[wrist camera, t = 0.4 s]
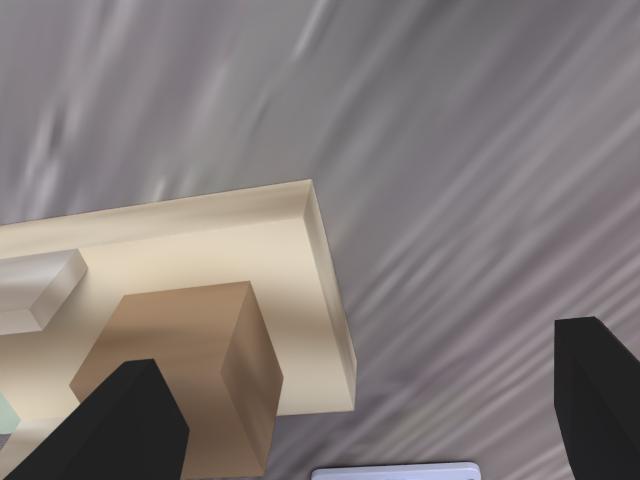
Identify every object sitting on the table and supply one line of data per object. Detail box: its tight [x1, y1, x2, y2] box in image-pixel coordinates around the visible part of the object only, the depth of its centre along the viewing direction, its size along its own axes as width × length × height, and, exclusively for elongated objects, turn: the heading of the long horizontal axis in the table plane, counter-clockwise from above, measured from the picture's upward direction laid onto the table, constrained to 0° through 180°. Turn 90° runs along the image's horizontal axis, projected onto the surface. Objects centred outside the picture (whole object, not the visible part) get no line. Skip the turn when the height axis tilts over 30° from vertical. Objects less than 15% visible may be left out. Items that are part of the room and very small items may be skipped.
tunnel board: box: [0, 179, 357, 480], centre depth 21 cm, size 9×25×6 cm, turn 102°
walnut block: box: [69, 281, 284, 480], centre depth 18 cm, size 4×4×4 cm
